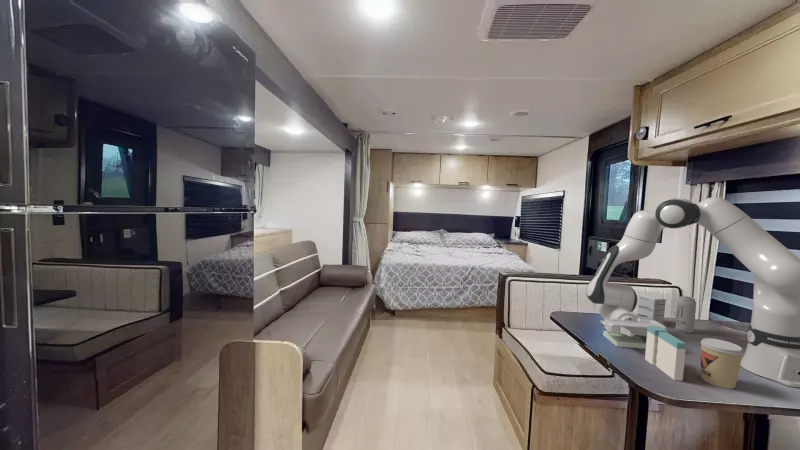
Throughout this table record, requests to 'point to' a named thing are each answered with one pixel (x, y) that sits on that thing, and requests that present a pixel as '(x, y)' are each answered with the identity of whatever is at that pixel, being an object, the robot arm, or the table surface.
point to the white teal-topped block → (652, 343)
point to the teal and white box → (670, 355)
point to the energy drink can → (686, 314)
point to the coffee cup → (720, 362)
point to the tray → (625, 340)
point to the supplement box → (652, 307)
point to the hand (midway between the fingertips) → (646, 335)
